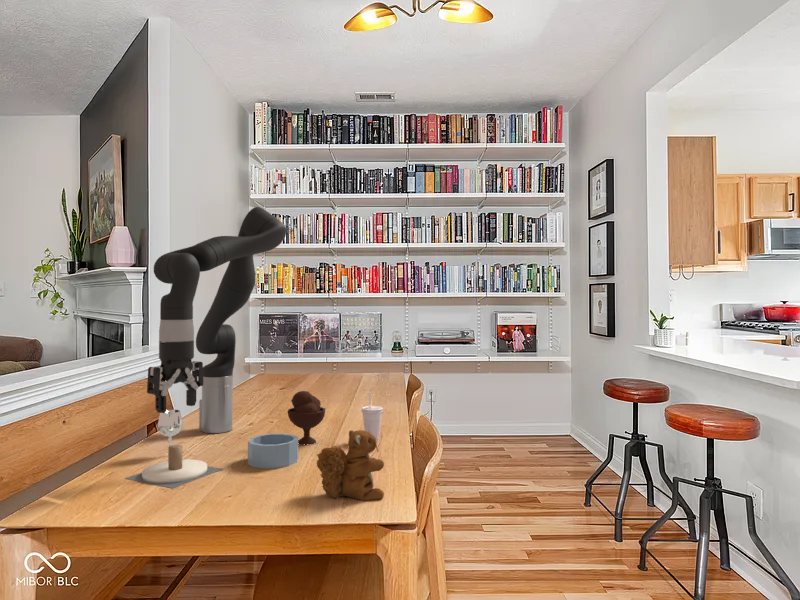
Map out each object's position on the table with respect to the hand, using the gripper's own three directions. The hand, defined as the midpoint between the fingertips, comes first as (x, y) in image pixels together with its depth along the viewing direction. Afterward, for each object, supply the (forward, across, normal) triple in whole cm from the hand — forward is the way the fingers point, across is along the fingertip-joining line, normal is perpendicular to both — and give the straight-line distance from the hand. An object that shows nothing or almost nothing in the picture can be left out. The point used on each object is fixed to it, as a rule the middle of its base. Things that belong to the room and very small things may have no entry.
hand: (176, 408), depth 126 cm
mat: (+16, 0, 0) cm, 16 cm away
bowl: (+16, -18, +14) cm, 27 cm away
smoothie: (+16, -48, +26) cm, 57 cm away
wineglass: (+16, -10, -13) cm, 23 cm away
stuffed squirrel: (+16, -8, +42) cm, 46 cm away
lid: (+15, 0, 0) cm, 15 cm away
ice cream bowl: (+16, -38, +10) cm, 42 cm away
